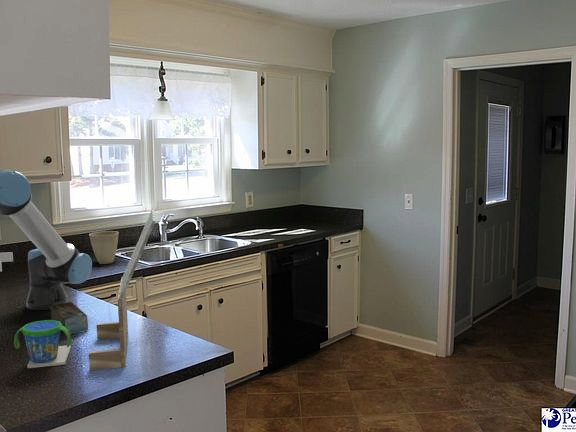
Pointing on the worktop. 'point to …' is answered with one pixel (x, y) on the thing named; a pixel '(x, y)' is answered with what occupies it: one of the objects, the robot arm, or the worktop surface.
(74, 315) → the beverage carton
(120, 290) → the tan tall piece
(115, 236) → the plant pot
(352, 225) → the worktop surface
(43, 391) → the worktop surface
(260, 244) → the worktop surface
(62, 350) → the paving slab
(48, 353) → the snack cup
